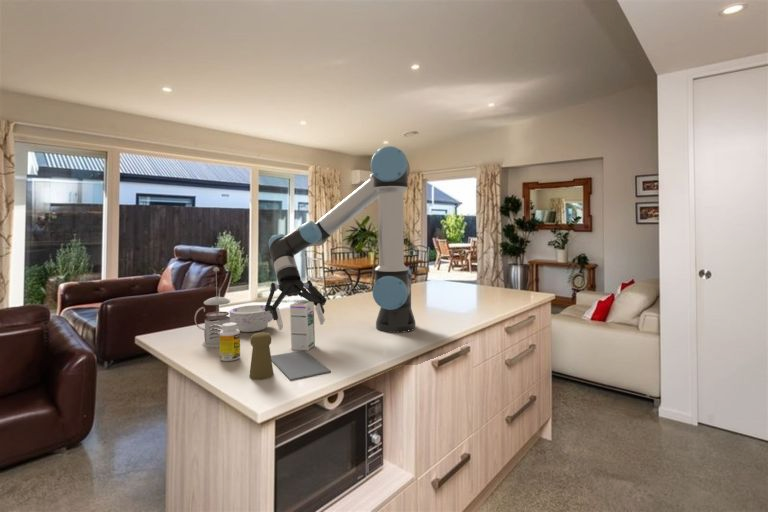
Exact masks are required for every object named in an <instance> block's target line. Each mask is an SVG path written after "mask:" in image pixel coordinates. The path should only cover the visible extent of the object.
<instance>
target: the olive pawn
mask: <svg viewBox="0 0 768 512" xmlns="http://www.w3.org/2000/svg"><path fill="white" fill-rule="evenodd" d="M249 342H250V345H251V346H252V351H251V359H250V361H251V362H250V370H249V378H250V379H252V380H258V381H260V380H266V379H270V378H272V377H273V376H274V375H275V373H274V368H273V362H272V360H271V356H272V354H271V347H270V345H271V343H272V335H271V333H268V332H266V331H265V332H264V331H263V332H262V331H261V332H260V331H259V332H255V333H254V334H252V335H251V336H250V341H249Z"/></svg>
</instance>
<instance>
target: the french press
mask: <svg viewBox="0 0 768 512" xmlns="http://www.w3.org/2000/svg"><path fill="white" fill-rule="evenodd" d="M212 271H213V272H220V268H219V267H218V266H215V267H214V268H213V269H212ZM217 282H218V279H217V273H215V289H216V290H215V291H216V294H215V295H216V296H214V297H210V298H208V299H206V300H204V301H203V305H205V306H221V305H227V304H230V302H231V299H228V298H227V297H224V296H219V295H218V283H217ZM205 306H201V307H200V308H198V309H197V310H196V311H195V314H194V322H195V325H196V327H197V328H199V329H200V330H203V333H204V341H203V342H202V344H201V345H203V346H202V347H204V346H206V347H205V348H220V342H219V333H220V331H222V324H224V323H230V314H229V313H230V312H229V311H218V307H216V311H211V312H207V313H206V314H205V316H204V317H206V318H204V327H201V326H200V325H198V323H197V316H198V313H199V312H200V311H201V310H203V312H204V313H205V312H206V308H205Z"/></svg>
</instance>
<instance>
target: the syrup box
mask: <svg viewBox="0 0 768 512" xmlns="http://www.w3.org/2000/svg"><path fill="white" fill-rule="evenodd" d="M289 308H290V309H289V310H290V311H289V312H290V314H289V315H290V318H289V319H290V346H291V347H290V349H291V350H295V351H302V350H305V351H306V352H307V351H309V350H310V349H311V348H313V347H314V346H315V345H316V342H315V341H316V339H315V338H316V336H315V305H314V302H311V301H308V300H299V301H298V300H297V301H296V302H294V303H291V304H289Z"/></svg>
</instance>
